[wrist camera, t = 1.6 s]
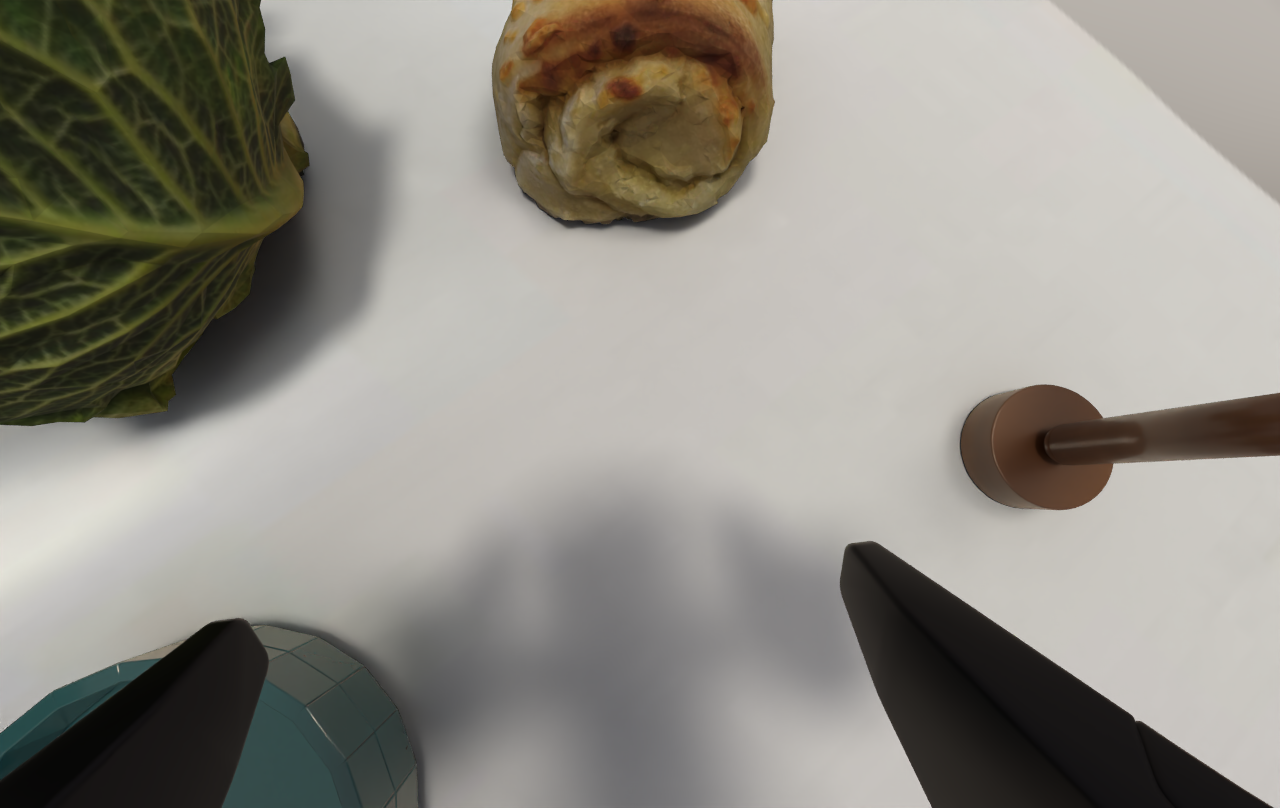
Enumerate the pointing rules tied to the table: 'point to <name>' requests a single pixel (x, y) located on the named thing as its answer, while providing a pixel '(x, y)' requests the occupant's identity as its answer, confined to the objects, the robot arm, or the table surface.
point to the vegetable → (131, 193)
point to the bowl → (272, 729)
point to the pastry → (632, 102)
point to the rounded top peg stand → (1098, 442)
